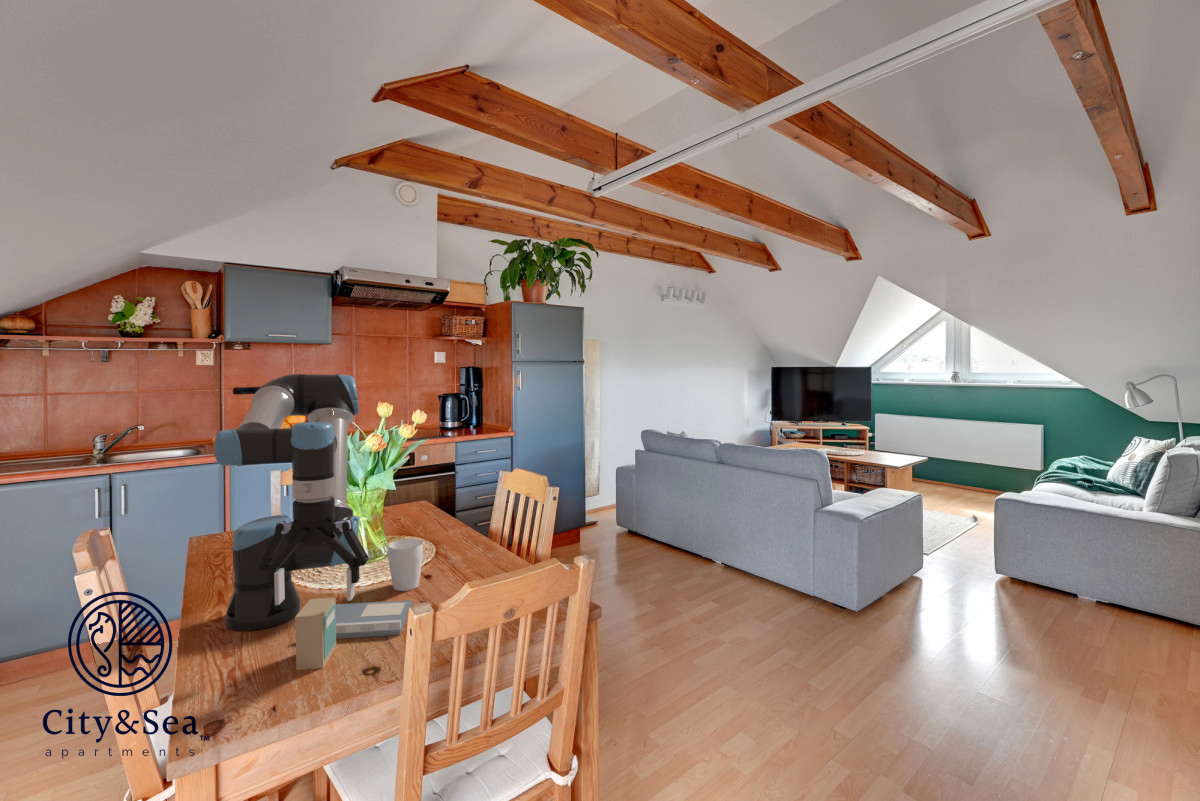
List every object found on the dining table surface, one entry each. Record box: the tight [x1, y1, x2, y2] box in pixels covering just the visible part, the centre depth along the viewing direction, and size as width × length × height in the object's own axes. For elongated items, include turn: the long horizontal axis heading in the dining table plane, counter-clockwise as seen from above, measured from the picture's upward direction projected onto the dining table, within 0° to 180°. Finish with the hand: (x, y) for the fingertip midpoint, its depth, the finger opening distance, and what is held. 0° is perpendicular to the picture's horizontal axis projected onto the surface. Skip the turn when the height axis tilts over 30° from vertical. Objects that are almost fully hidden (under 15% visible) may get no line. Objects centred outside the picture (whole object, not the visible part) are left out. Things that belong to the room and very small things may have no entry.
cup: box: [387, 538, 424, 592], centre depth 145 cm, size 9×9×12 cm
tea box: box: [294, 597, 337, 671], centre depth 109 cm, size 8×5×11 cm, turn 9°
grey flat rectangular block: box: [336, 599, 414, 640], centre depth 125 cm, size 20×15×3 cm
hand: (315, 600), depth 108 cm, fingers open, 13 cm apart
